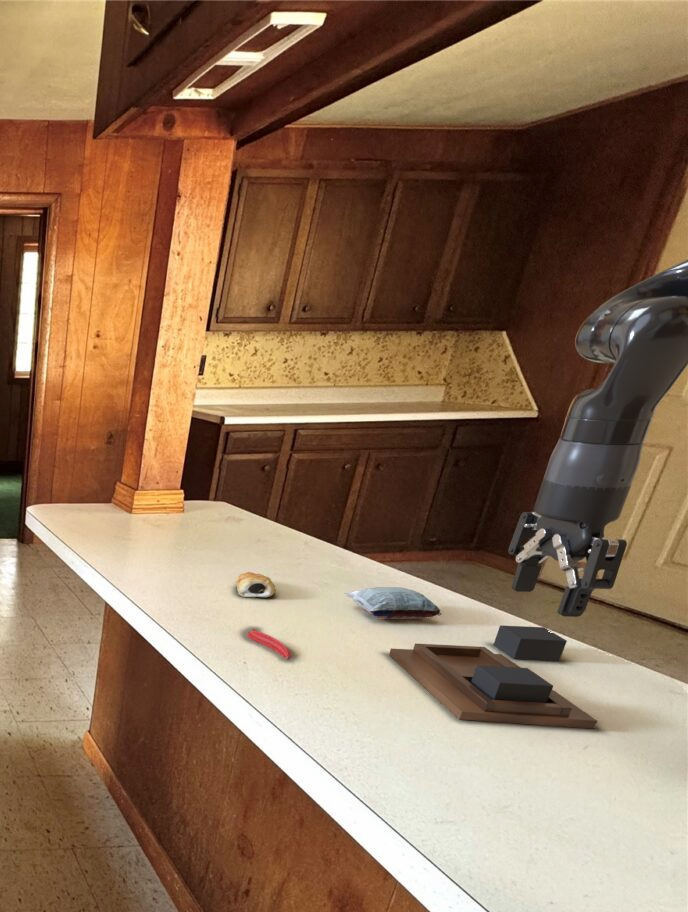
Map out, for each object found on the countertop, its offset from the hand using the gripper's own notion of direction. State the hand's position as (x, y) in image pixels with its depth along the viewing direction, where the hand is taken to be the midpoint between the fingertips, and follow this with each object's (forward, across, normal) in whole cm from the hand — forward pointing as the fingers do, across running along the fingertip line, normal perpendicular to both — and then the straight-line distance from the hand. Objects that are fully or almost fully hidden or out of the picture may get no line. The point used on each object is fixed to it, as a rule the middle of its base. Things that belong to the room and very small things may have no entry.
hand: (544, 602), depth 85 cm
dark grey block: (+13, -2, +2) cm, 14 cm away
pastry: (+15, +39, +22) cm, 47 cm away
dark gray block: (+15, +16, -11) cm, 25 cm away
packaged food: (+15, +30, +2) cm, 34 cm away
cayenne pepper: (+15, +15, +26) cm, 34 cm away
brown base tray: (+15, +3, +2) cm, 15 cm away
